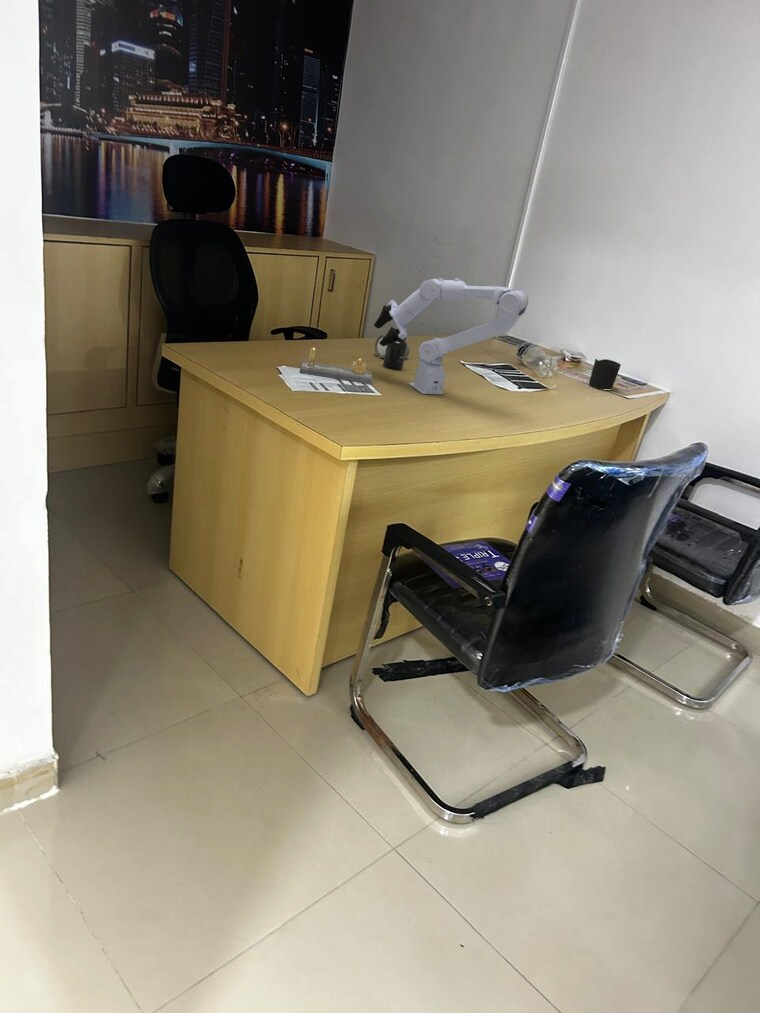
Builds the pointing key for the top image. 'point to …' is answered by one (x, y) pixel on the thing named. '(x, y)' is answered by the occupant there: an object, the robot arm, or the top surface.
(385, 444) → the top surface
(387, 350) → the supplement bottle
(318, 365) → the bolt plate
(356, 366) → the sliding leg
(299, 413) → the top surface
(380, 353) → the pipe fitting
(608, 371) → the pen holder
